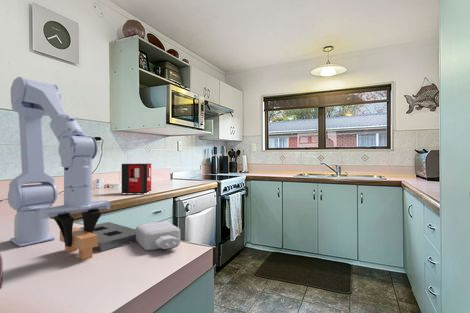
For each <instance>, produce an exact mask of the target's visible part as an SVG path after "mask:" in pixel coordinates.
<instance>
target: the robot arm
mask: <svg viewBox="0 0 470 313" xmlns="http://www.w3.org/2000/svg"><path fill="white" fill-rule="evenodd" d="M61 100H62V91H61V89H60V87H59V85H57V84H50V83H45V82H41V81H37V80H32V79H29V78H24V77H21V76H17V77H16V78H14V79H13V81H12V84H11V86H10V103H11V109H12V110H13V111H14V112H16V113H17V114H18V123H19V126H18V127H19V143H20V160H21V162H20V163H21V173H20V174H19V175H18V176H16V177H14V178H13V179H12V180H11V181H10V182H9V184H8V186H9V187H8V193H7V203H8V205H9V207H10V208H11V209H13V210H14V211H16V213H15V215H14V217H13V218H14V221H13V222H14V225H13V226H14V232H13V233H14V235H13V236H14V237H10V238H9V241H10V242H12V243H13V244H15V245H16V246H18V247H24V246H29V245H34V244H39V243H43V242H47V241H53V240H55V239H56V237H55V236H54V235H51V234H50V229H51V228H50V221H51V220H50V218H53V219H54V221H55V223H56V225H57V226H58V228H59V231H60V230H61V232H62V235H63V238H64V242H65V243H64V242H63V243H64V247H65V246H67V247H71V246H72V228H74V227H73V226H74V221H75V218H74V217H72V215H73V214H79V213H81V215H82V222H83V223H82V224H83V227H84V230H85V231H87V232H90V233H93V230H94V227H95V225H96V224H97V223H98V221H99V219H100V218H101V216H102V211H101V210H109V209H111V201H110V200H98V201H93V159H95V158H96V156H97V154H98V143H97V140H96V138H95V137H94V136H91V135H89V134H86V133H85V132H84V131H83V129H82V127H81V126H80V124H79V123H78V121H77V119H76V118H75V117H74V115H70V114H67V112H66V111H65V108H64V105H63V104H62V102H61ZM44 116H48V117H49V118H50V122H49V127H50V129H51V131H52V132H53V134H54V136H55V137H56V140H57V141H58V143H59V144H58V148H57V149H58V150H57V151H58V155H59V157H60V165H61V167H62V168H63V205H57V206H56V205H55V206H53V205H54V204H55V203H56V201H57V200H58V196H59V195H58V188H57V186H56V181H55V178H54V177H52V176H51V175H50V174H48V173H46V172H45V161H44V160H45V159H44V145H43V144H44V143H43V127H42V126H43V125H42V119H43V117H44Z"/></svg>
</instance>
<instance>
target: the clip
mask: <svg viewBox="0 0 470 313" xmlns="http://www.w3.org/2000/svg"><path fill="white" fill-rule="evenodd" d="M79 228H80V227H75V226H74V227H73V228H72V246H71V247H67V246H65V245H64V251H65V252H67V253H72V252H76V251H78V258H79V259H80V260H82V261H85V260H87V259H91V258H93V249H94V248H93V247H97V246H98V235H96V234H93V233H90V232H87V231H85V230H82V229H79ZM59 241H60V242H62V243H64V244H65V242H64V238H63V235H62V232H61V230H60V229H59Z"/></svg>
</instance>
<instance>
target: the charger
mask: <svg viewBox="0 0 470 313" xmlns="http://www.w3.org/2000/svg"><path fill="white" fill-rule="evenodd" d="M135 229H136V241H137V243H138V244H139V246H141V247H142V249H144V250H145V251H147V250H151V251H155V250H160V249H163V250H167V249H171V248H174V247H176V246H178V245H180V243H181V229H180V228H179V227H178V226H176V225H174V224H172V223H170V222H169V221H166V220H164V221H156V222H150V223H142V224H138V225H137V226H136V227H135ZM147 252H148V251H147Z"/></svg>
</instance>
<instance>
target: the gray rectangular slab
mask: <svg viewBox="0 0 470 313" xmlns="http://www.w3.org/2000/svg"><path fill="white" fill-rule="evenodd" d="M78 228H79V229H82V230H84V226H82V227H81V226H80V227H78ZM93 234H96V235H98V246H97V247H93V248H92V249H94V250H97V251H99V252H104V250H105V251H108V250H111V249H110V248H112V249H114V248H113V247H116V248H118V247H117V246H119V247H121V246H120V245H123V244H126V245H128V244H127V243H130V242H133V243H135V242H134V241H136V228H131V227H127V226H124V225H121V224H118V223H115V222H114V223H113V222H111V221H108V222H101V223H98V224H97V223H96V225H95V227H94V230H93ZM130 244H131V243H130ZM123 246H124V245H123ZM107 249H108V250H107Z"/></svg>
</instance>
